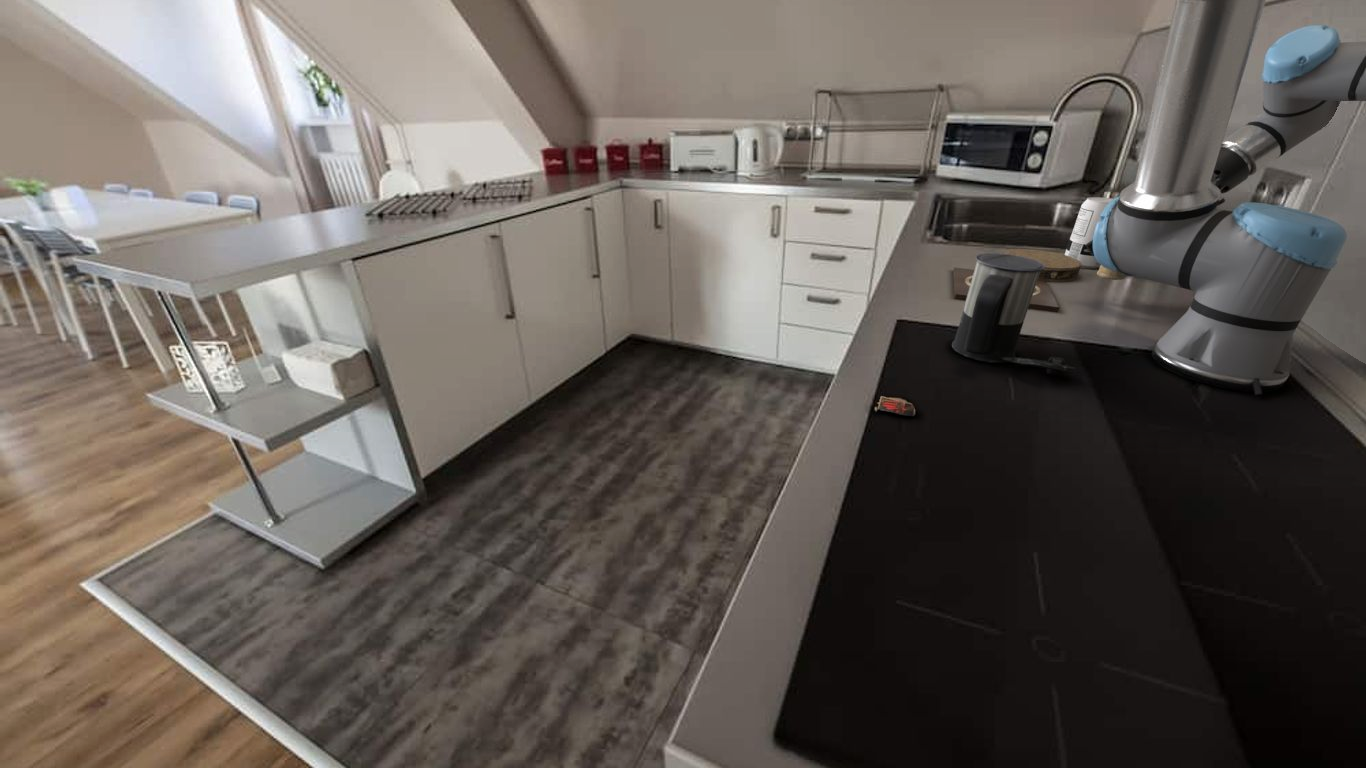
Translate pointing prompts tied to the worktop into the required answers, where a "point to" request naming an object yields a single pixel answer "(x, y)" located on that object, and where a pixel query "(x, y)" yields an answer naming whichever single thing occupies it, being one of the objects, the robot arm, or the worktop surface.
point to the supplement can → (1086, 231)
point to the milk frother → (1000, 311)
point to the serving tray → (1039, 300)
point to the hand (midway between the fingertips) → (1098, 254)
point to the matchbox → (896, 406)
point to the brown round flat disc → (1051, 264)
